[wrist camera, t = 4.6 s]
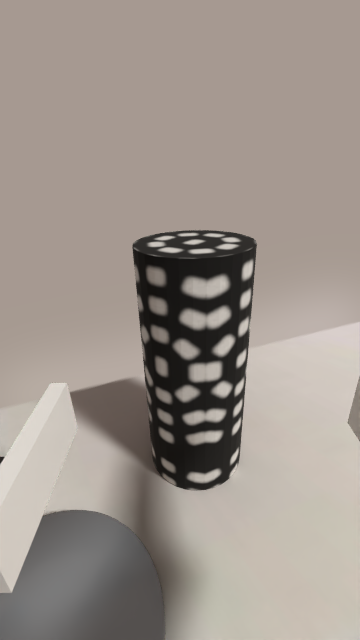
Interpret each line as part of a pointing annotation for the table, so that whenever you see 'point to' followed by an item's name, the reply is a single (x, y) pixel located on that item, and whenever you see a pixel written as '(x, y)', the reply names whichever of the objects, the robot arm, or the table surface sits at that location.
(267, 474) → the table surface
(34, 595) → the dish
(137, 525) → the table surface
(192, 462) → the white-spotted black cylinder
